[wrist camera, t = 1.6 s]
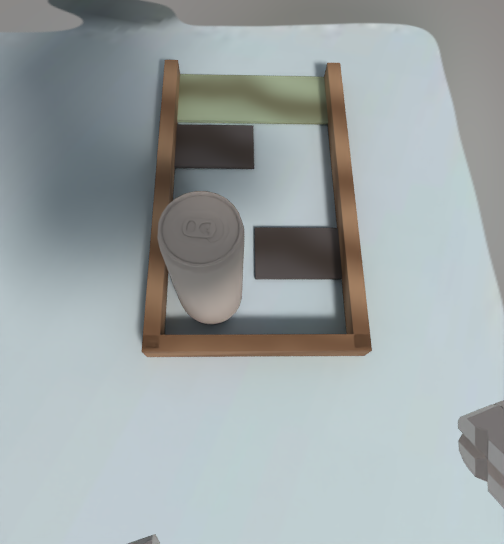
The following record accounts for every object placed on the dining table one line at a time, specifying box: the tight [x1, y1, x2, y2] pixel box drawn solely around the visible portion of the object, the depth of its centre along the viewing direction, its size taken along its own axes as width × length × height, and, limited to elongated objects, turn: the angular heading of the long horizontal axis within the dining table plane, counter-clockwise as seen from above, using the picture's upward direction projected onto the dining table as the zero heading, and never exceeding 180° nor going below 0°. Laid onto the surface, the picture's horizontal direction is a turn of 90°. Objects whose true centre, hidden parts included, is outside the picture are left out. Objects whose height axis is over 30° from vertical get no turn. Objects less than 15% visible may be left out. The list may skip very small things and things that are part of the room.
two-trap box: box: [142, 60, 372, 357], centre depth 37 cm, size 27×16×2 cm, turn 1°
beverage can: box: [157, 191, 244, 324], centre depth 29 cm, size 5×5×12 cm
